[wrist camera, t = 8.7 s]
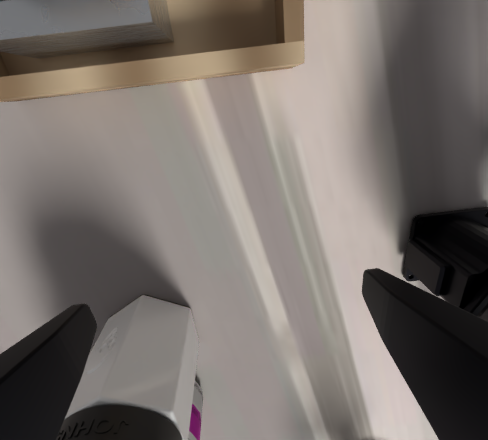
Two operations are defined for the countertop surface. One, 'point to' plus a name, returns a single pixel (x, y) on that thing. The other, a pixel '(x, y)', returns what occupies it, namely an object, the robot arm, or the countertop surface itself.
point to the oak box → (171, 51)
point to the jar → (138, 376)
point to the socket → (81, 26)
